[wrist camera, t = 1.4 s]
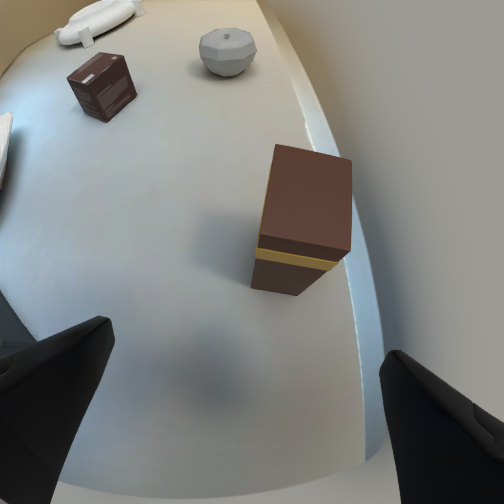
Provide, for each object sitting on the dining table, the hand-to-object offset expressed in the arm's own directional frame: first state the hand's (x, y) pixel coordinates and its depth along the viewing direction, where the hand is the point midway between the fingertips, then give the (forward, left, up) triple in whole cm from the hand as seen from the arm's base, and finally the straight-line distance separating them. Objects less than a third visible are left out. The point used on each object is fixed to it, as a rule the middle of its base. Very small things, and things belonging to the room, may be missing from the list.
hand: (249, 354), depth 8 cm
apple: (+28, +20, -14) cm, 38 cm away
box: (+15, +31, -14) cm, 37 cm away
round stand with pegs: (+37, +65, -14) cm, 76 cm away
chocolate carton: (+7, +1, -14) cm, 16 cm away
